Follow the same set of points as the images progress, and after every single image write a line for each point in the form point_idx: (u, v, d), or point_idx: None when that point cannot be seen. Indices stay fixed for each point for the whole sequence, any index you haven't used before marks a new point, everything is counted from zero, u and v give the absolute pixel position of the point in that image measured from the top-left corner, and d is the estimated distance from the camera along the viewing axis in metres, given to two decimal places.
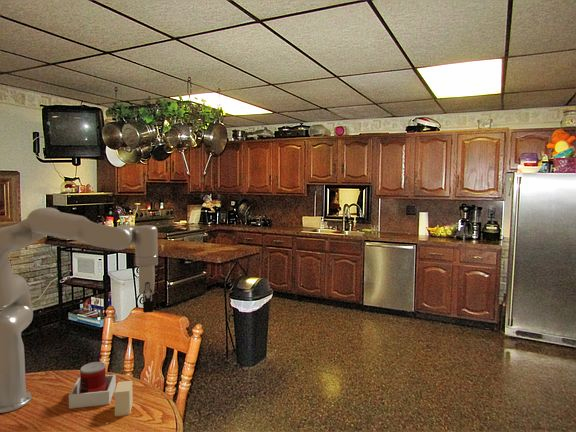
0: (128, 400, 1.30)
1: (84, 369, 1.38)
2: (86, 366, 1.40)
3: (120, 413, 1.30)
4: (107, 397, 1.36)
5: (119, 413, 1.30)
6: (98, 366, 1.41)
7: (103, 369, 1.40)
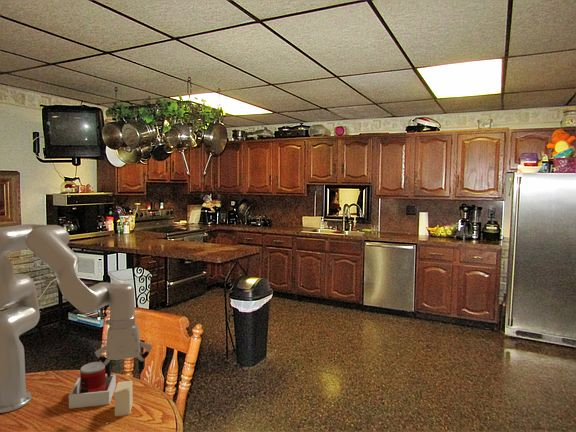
0: (128, 400, 1.30)
1: (84, 369, 1.38)
2: (86, 366, 1.40)
3: (120, 413, 1.30)
4: (107, 397, 1.36)
5: (119, 413, 1.30)
6: (98, 366, 1.41)
7: (103, 369, 1.40)
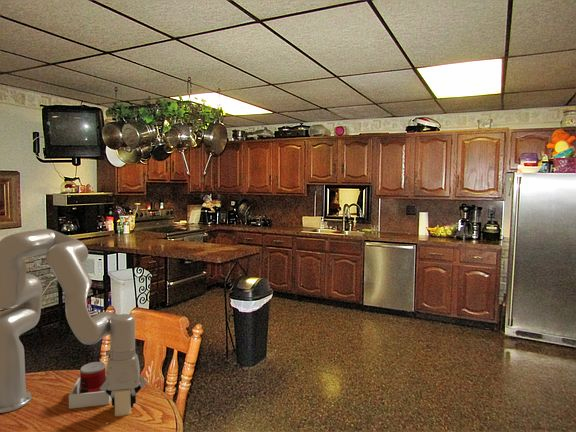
0: (128, 400, 1.30)
1: (84, 369, 1.38)
2: (86, 366, 1.40)
3: (120, 413, 1.30)
4: (107, 397, 1.36)
5: (119, 413, 1.30)
6: (98, 366, 1.41)
7: (103, 369, 1.40)
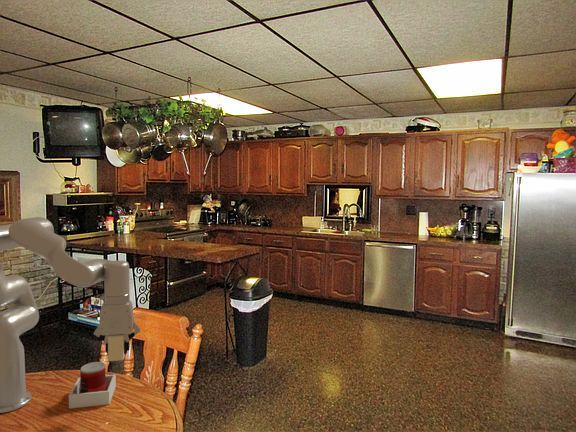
0: (121, 345, 1.29)
1: (84, 369, 1.38)
2: (86, 366, 1.40)
3: (113, 358, 1.29)
4: (107, 397, 1.36)
5: (112, 358, 1.29)
6: (98, 366, 1.41)
7: (103, 369, 1.40)
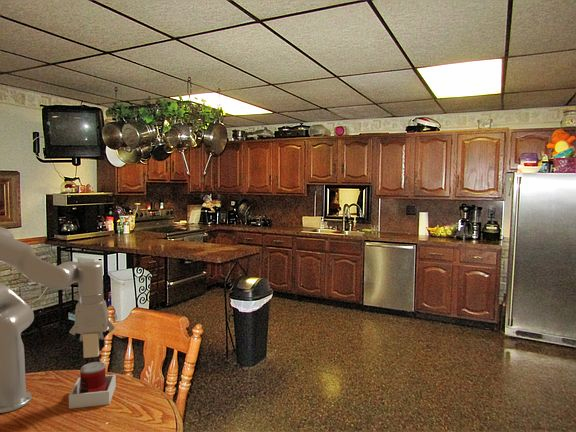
0: (96, 342, 1.36)
1: (84, 369, 1.38)
2: (86, 366, 1.40)
3: (89, 355, 1.36)
4: (107, 397, 1.36)
5: (87, 355, 1.36)
6: (98, 366, 1.41)
7: (103, 369, 1.40)
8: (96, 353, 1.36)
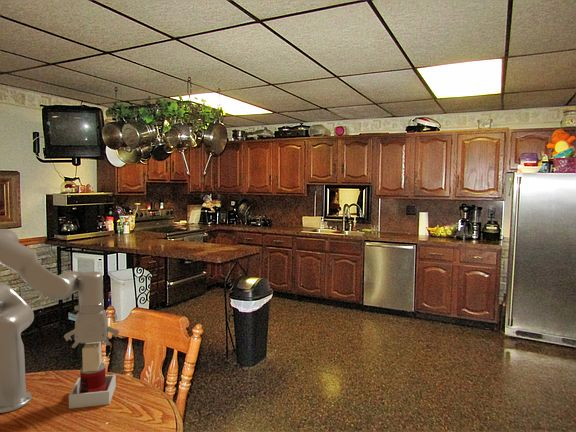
0: (95, 356, 1.36)
1: None
2: None
3: (88, 369, 1.36)
4: (107, 397, 1.36)
5: (86, 369, 1.36)
6: None
7: (103, 369, 1.40)
8: (95, 367, 1.37)
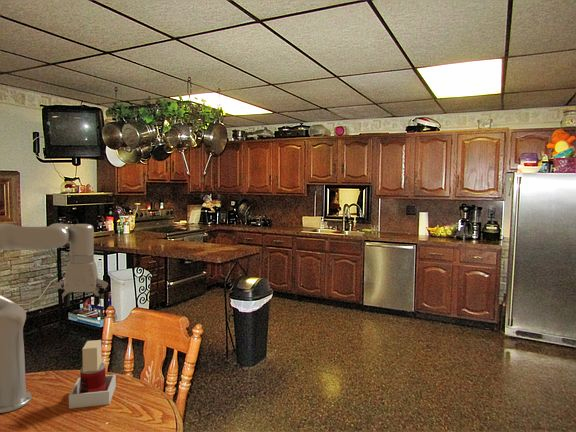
0: (96, 356, 1.36)
1: None
2: None
3: (88, 369, 1.36)
4: (107, 397, 1.36)
5: (87, 369, 1.36)
6: None
7: (103, 369, 1.40)
8: (95, 367, 1.37)
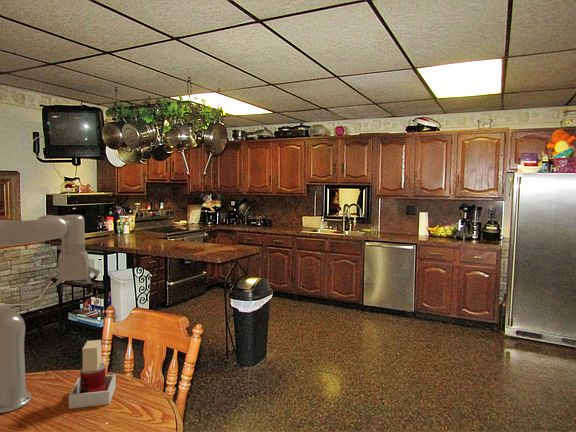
0: (96, 356, 1.36)
1: None
2: None
3: (88, 369, 1.36)
4: (107, 397, 1.36)
5: (86, 369, 1.36)
6: None
7: (103, 369, 1.40)
8: (95, 367, 1.37)
